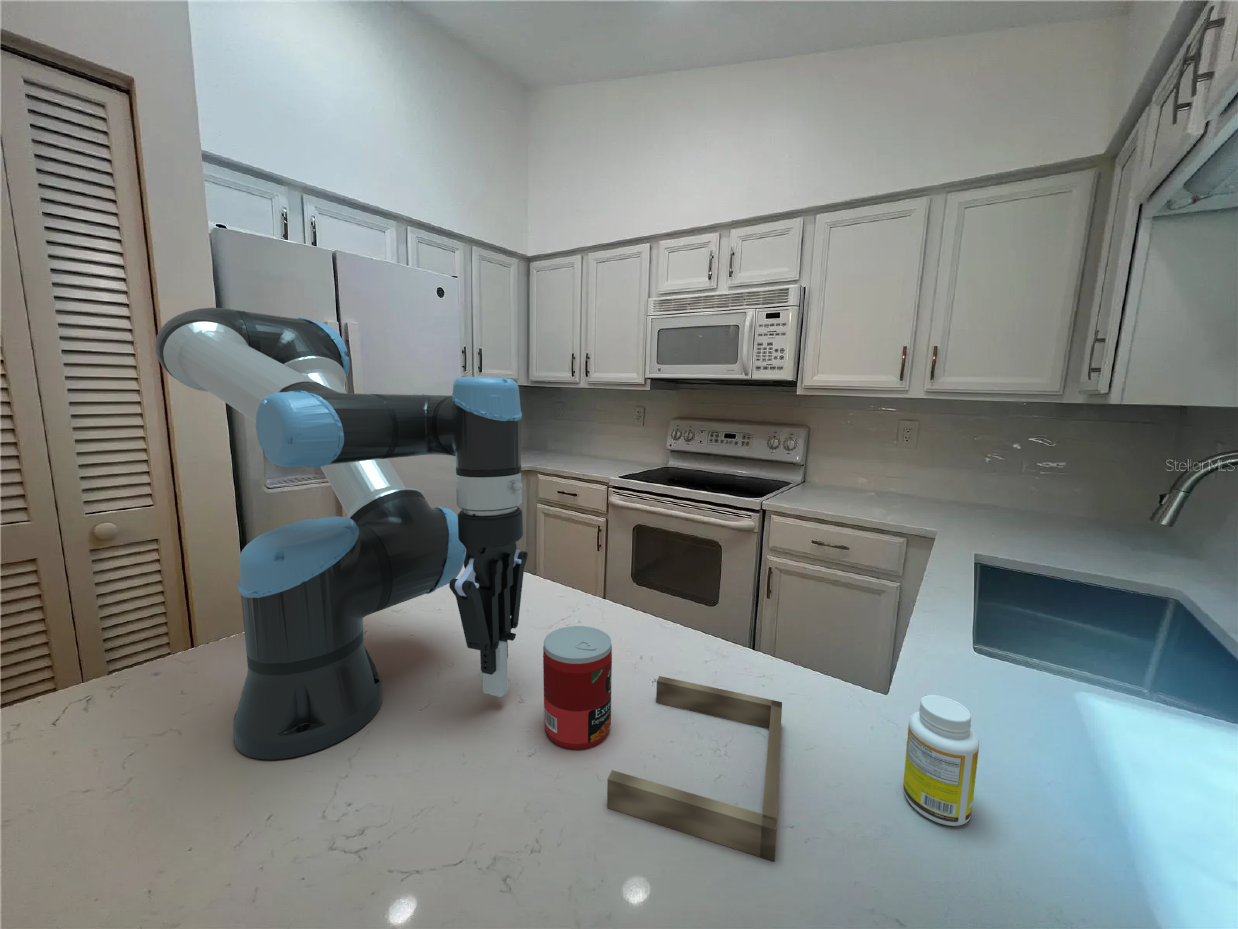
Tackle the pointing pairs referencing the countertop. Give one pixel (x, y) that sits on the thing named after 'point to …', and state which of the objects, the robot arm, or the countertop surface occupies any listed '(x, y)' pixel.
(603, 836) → the countertop surface
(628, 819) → the countertop surface
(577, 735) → the canned food
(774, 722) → the bay
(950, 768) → the supplement bottle
